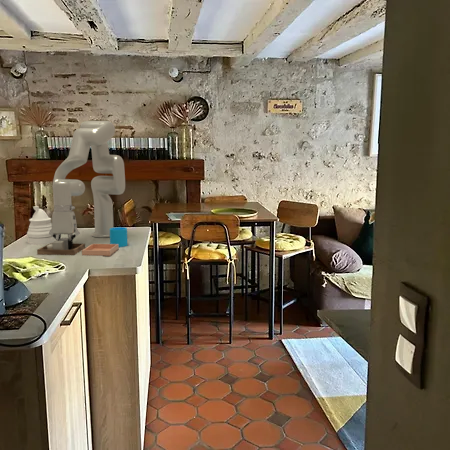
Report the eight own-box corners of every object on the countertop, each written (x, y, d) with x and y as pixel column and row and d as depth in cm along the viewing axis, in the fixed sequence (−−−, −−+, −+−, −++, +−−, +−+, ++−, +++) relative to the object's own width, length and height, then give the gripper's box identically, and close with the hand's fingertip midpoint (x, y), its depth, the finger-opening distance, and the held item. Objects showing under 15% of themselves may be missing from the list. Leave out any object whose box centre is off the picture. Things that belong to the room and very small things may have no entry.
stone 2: (62, 248, 207) (62, 237, 206) (71, 248, 207) (70, 237, 206) (59, 250, 203) (58, 239, 202) (68, 250, 203) (67, 239, 202)
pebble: (48, 250, 203) (48, 243, 203) (55, 250, 203) (55, 243, 203) (45, 251, 200) (45, 244, 200) (53, 251, 200) (52, 244, 199)
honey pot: (38, 246, 213) (36, 208, 210) (21, 243, 220) (19, 206, 217) (61, 241, 224) (59, 205, 221) (44, 239, 231) (42, 204, 228)
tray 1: (50, 248, 209) (50, 243, 208) (85, 248, 208) (84, 243, 208) (37, 255, 195) (37, 249, 194) (74, 255, 194) (73, 250, 194)
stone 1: (55, 252, 200) (54, 240, 199) (64, 251, 200) (64, 240, 199) (52, 254, 196) (52, 242, 195) (62, 253, 196) (61, 242, 195)
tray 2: (92, 249, 208) (92, 243, 208) (118, 249, 208) (118, 244, 207) (82, 256, 194) (81, 250, 194) (109, 256, 194) (109, 250, 193)
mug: (126, 247, 213) (125, 230, 212) (108, 247, 212) (108, 230, 211) (129, 242, 225) (129, 225, 223) (113, 242, 224) (112, 225, 223)
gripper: (84, 207, 205) (86, 247, 208) (48, 207, 206) (50, 246, 209) (78, 210, 198) (80, 251, 201) (40, 209, 198) (43, 250, 202)
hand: (65, 248), depth 205 cm, fingers closed on stone 2, 3 cm apart
